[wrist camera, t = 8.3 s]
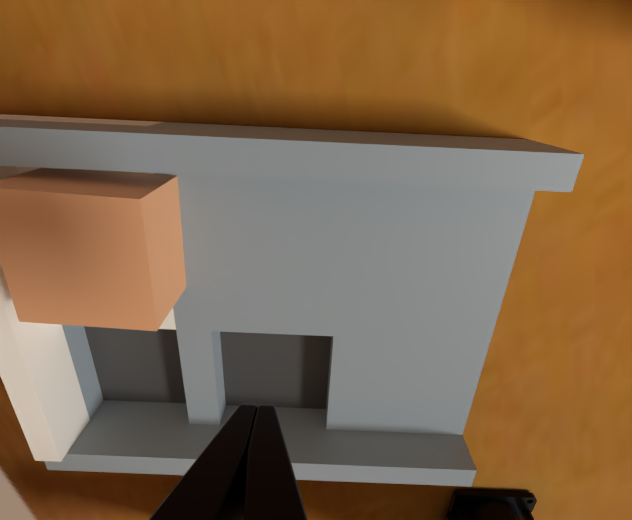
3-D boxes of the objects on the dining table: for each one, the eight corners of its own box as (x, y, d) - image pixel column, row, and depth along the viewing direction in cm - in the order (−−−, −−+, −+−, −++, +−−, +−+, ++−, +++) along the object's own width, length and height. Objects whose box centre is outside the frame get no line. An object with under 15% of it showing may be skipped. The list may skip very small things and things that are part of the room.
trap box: (526, 139, 19) (593, 156, 14) (448, 426, 27) (474, 494, 23) (1, 114, 18) (-103, 123, 14) (88, 411, 27) (42, 477, 22)
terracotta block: (177, 175, 18) (140, 199, 14) (186, 286, 20) (156, 331, 16) (48, 165, 17) (-24, 186, 14) (73, 278, 20) (18, 321, 16)
